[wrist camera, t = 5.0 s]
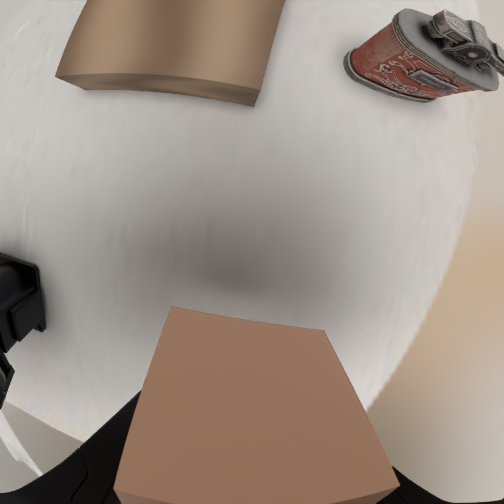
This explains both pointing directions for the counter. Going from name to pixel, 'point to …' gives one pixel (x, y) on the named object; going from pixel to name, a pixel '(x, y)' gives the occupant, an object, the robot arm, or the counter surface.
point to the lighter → (427, 57)
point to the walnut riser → (173, 47)
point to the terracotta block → (249, 420)
